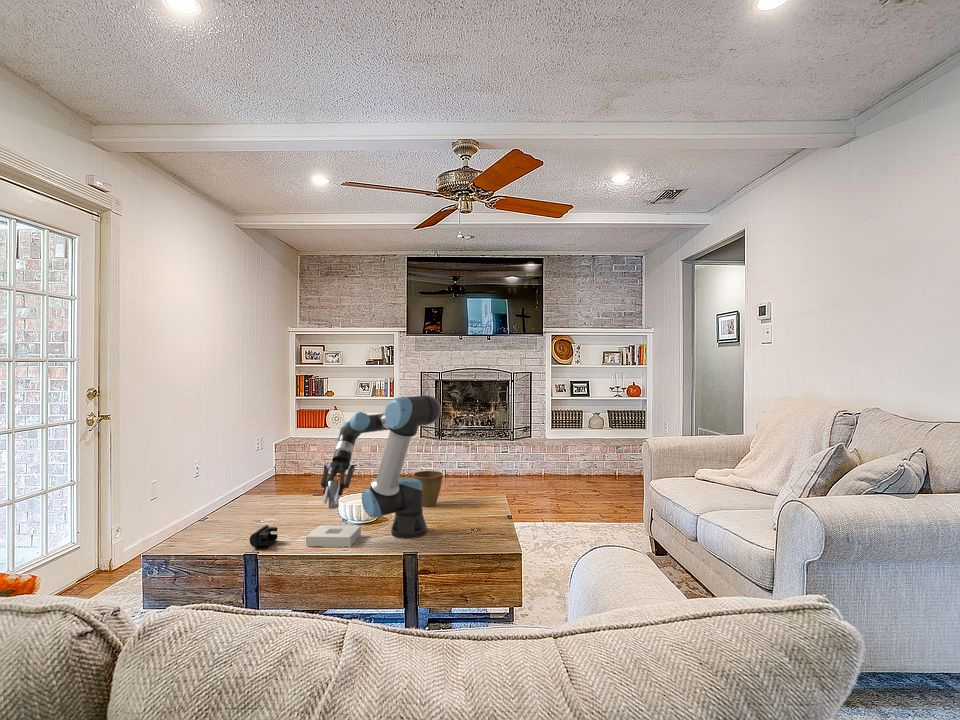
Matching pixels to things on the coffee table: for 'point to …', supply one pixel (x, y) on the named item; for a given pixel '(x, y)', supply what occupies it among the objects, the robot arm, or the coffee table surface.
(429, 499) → the plant pot
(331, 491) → the pin
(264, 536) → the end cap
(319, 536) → the socket block
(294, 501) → the coffee table surface
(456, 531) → the coffee table surface
